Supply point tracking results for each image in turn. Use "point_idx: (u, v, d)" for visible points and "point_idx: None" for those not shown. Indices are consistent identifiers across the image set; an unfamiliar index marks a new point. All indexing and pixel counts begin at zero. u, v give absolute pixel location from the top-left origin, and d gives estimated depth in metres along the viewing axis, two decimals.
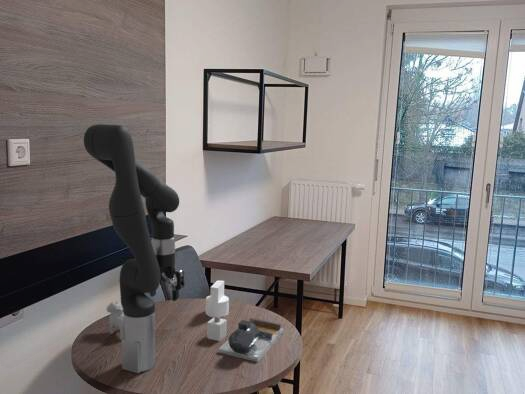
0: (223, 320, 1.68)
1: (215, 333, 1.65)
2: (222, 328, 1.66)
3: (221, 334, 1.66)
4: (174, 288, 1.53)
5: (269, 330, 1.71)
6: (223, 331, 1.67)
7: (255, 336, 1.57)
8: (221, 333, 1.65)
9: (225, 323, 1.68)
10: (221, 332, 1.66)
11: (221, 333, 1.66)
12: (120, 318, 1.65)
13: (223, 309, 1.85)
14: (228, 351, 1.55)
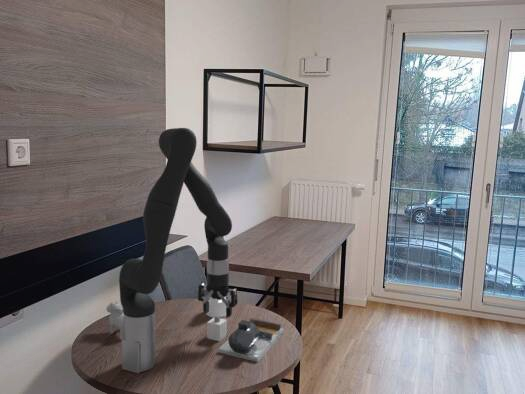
0: (223, 320, 1.68)
1: (215, 333, 1.65)
2: (222, 328, 1.66)
3: (221, 334, 1.66)
4: (228, 306, 1.64)
5: (269, 330, 1.71)
6: (223, 331, 1.67)
7: (255, 336, 1.57)
8: (221, 333, 1.65)
9: (225, 323, 1.68)
10: (221, 332, 1.66)
11: (221, 333, 1.66)
12: (120, 318, 1.65)
13: (223, 309, 1.85)
14: (228, 351, 1.55)
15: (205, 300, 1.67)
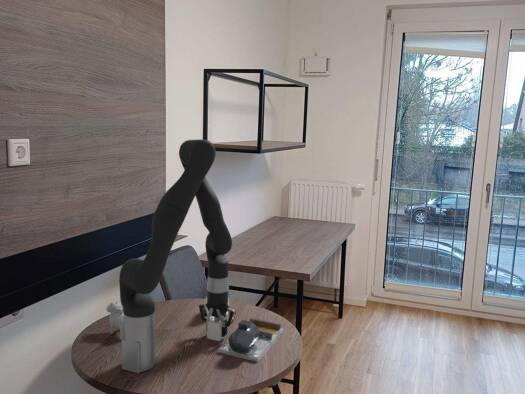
0: None
1: (215, 333, 1.65)
2: None
3: (221, 333, 1.66)
4: (224, 325, 1.65)
5: (269, 330, 1.71)
6: None
7: (255, 336, 1.57)
8: (221, 333, 1.66)
9: None
10: (221, 332, 1.66)
11: (221, 333, 1.66)
12: (120, 318, 1.65)
13: None
14: (228, 351, 1.55)
15: (208, 320, 1.67)
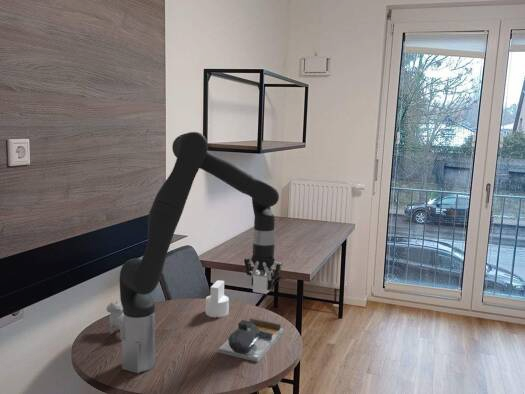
0: None
1: (261, 286, 1.66)
2: None
3: (267, 287, 1.67)
4: (270, 278, 1.66)
5: (269, 330, 1.71)
6: None
7: (255, 336, 1.57)
8: (267, 286, 1.66)
9: None
10: (267, 285, 1.67)
11: (267, 286, 1.67)
12: (120, 318, 1.65)
13: (223, 309, 1.85)
14: (228, 351, 1.55)
15: (253, 274, 1.68)
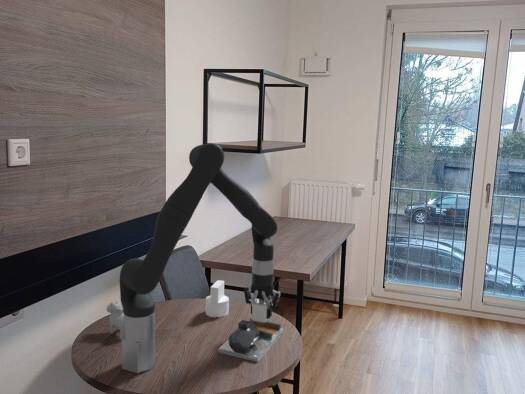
0: None
1: (260, 315, 1.68)
2: None
3: (266, 315, 1.69)
4: (269, 307, 1.67)
5: (269, 330, 1.71)
6: None
7: (255, 336, 1.57)
8: (266, 315, 1.68)
9: None
10: (266, 314, 1.68)
11: (266, 315, 1.69)
12: (120, 318, 1.65)
13: (223, 309, 1.85)
14: (228, 351, 1.55)
15: (253, 302, 1.70)
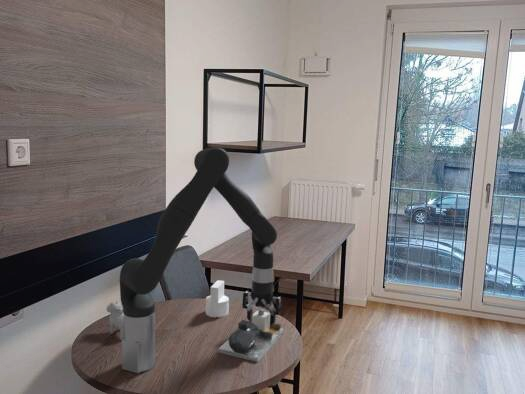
0: (267, 313, 1.71)
1: (260, 326, 1.68)
2: (267, 321, 1.69)
3: (266, 326, 1.69)
4: (272, 313, 1.67)
5: (269, 330, 1.71)
6: (267, 324, 1.70)
7: (255, 336, 1.57)
8: (265, 326, 1.69)
9: (269, 317, 1.71)
10: (265, 325, 1.69)
11: (266, 326, 1.69)
12: (120, 318, 1.65)
13: (223, 309, 1.85)
14: (228, 351, 1.55)
15: (249, 308, 1.70)
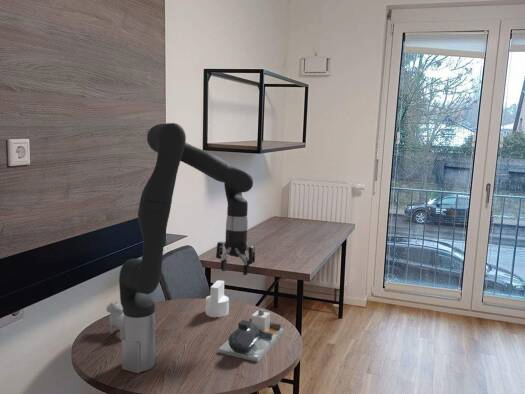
0: (267, 313, 1.71)
1: (260, 326, 1.68)
2: (267, 321, 1.69)
3: (266, 326, 1.69)
4: (246, 263, 1.66)
5: (269, 330, 1.71)
6: (267, 324, 1.70)
7: (255, 336, 1.57)
8: (265, 326, 1.69)
9: (269, 317, 1.71)
10: (265, 325, 1.69)
11: (266, 326, 1.69)
12: (120, 318, 1.65)
13: (223, 309, 1.85)
14: (228, 351, 1.55)
15: (223, 257, 1.69)
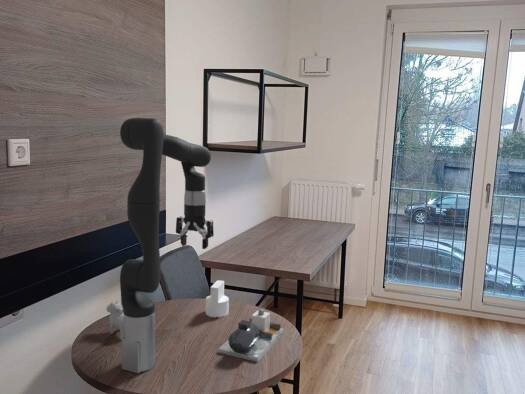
0: (267, 313, 1.71)
1: (260, 326, 1.68)
2: (267, 321, 1.69)
3: (266, 326, 1.69)
4: (204, 237, 1.68)
5: (269, 330, 1.71)
6: (267, 324, 1.70)
7: (255, 336, 1.57)
8: (265, 326, 1.69)
9: (269, 317, 1.71)
10: (265, 325, 1.69)
11: (266, 326, 1.69)
12: (120, 318, 1.65)
13: (223, 309, 1.85)
14: (228, 351, 1.55)
15: (182, 232, 1.71)
